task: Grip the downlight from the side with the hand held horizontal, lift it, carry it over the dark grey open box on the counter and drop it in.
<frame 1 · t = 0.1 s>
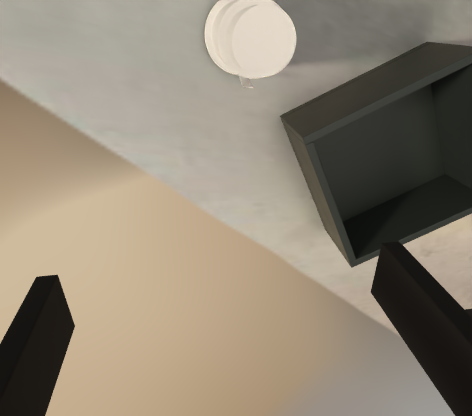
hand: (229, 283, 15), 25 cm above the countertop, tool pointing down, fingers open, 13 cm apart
dark grey open box: (370, 147, 41), on the countertop
downlight: (241, 35, 33), on the countertop
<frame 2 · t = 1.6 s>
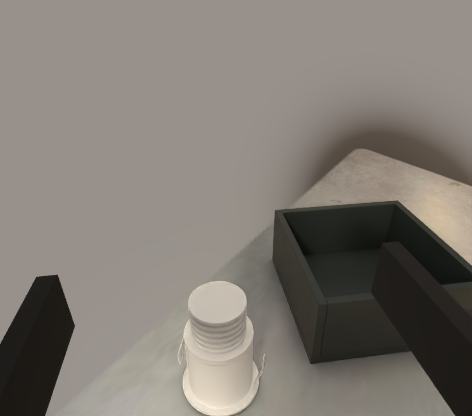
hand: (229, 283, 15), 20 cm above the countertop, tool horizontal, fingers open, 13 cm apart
dark grey open box: (355, 295, 42), on the countertop
downlight: (221, 382, 33), on the countertop
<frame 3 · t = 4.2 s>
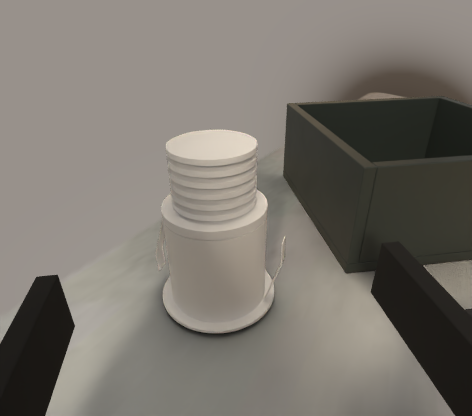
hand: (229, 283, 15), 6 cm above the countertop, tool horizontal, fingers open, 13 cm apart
dark grey open box: (394, 205, 32), on the countertop
downlight: (219, 295, 23), on the countertop
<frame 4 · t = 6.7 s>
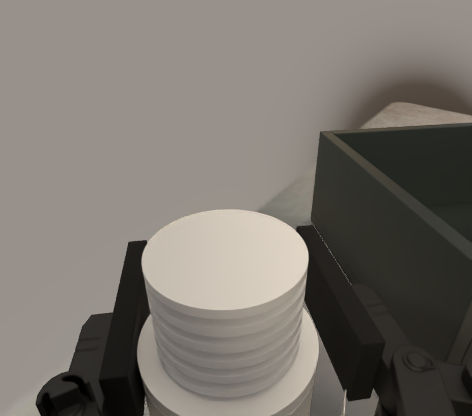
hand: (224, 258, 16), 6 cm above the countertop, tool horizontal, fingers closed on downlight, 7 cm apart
dark grey open box: (465, 270, 24), on the countertop
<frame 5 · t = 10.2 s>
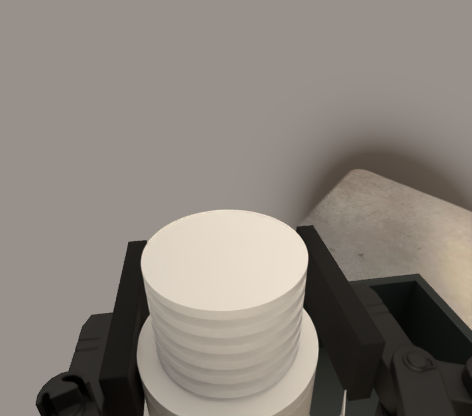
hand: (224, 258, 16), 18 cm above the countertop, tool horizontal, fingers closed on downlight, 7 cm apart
when the fingers open (11 cm above the countertop, at t = 13.8 s): downlight drops 4 cm, resting on dark grey open box.
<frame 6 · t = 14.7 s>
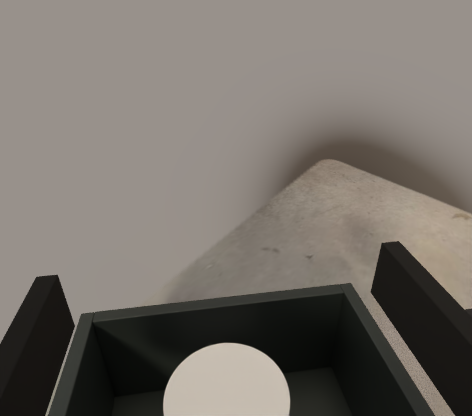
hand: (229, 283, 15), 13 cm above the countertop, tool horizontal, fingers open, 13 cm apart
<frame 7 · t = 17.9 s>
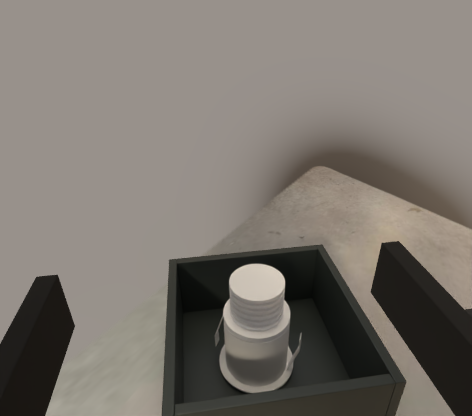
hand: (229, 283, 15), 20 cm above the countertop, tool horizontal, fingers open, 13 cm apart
dark grey open box: (262, 367, 34), on the countertop
downlight: (256, 363, 34), point 1 cm above the countertop, touching dark grey open box
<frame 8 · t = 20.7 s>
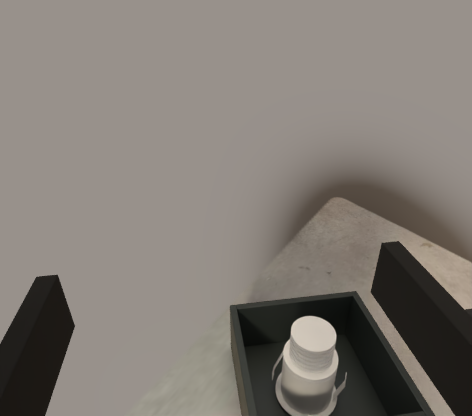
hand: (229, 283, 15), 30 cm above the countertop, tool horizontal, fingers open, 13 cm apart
dark grey open box: (309, 396, 42), on the countertop
downlight: (305, 393, 41), point 1 cm above the countertop, touching dark grey open box
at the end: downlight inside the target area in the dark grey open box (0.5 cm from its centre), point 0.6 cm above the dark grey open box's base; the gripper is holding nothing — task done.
